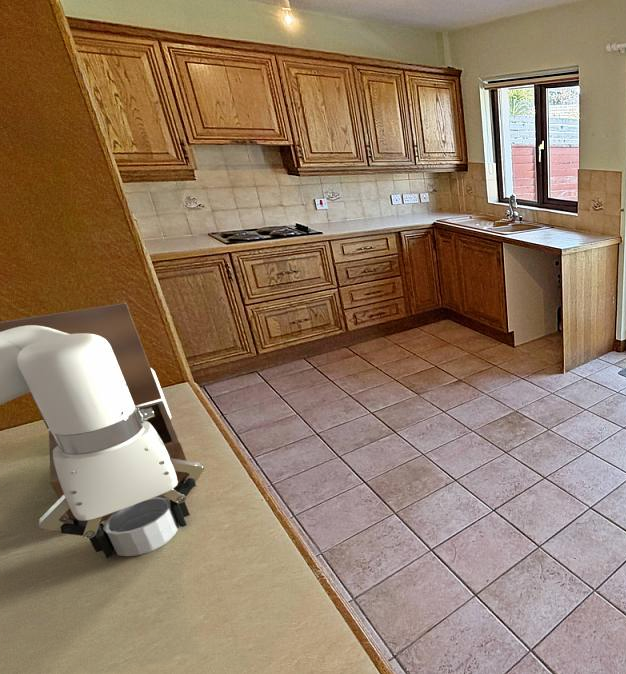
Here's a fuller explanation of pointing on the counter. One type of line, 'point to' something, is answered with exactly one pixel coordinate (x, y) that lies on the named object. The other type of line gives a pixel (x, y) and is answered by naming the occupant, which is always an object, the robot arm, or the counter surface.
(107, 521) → the bowl
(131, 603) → the counter surface
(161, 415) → the chest
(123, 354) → the lid
